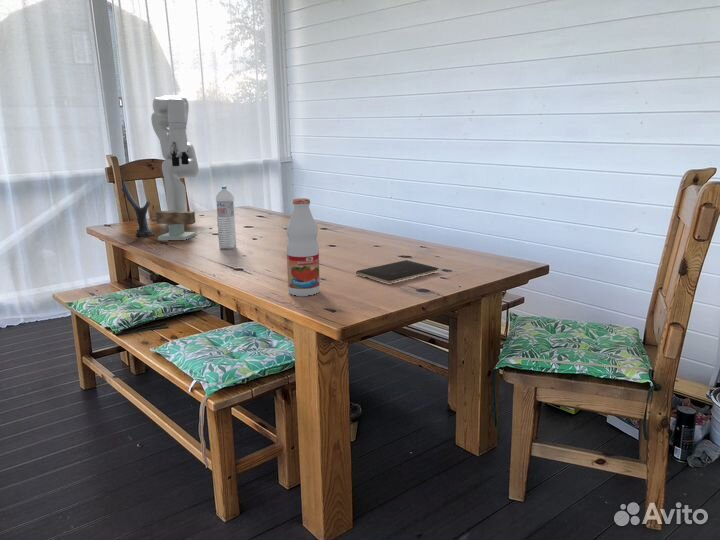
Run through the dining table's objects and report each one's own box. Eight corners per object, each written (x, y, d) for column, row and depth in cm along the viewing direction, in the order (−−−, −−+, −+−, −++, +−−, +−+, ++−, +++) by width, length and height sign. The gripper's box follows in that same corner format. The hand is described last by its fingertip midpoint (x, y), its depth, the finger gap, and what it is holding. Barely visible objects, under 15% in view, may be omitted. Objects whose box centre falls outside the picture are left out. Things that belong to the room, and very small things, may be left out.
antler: (151, 233, 266) (146, 178, 260) (156, 236, 260) (151, 180, 254) (125, 236, 260) (119, 180, 254) (129, 239, 254) (123, 181, 247)
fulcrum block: (170, 234, 263) (169, 220, 261) (195, 235, 261) (194, 221, 259) (157, 240, 251) (156, 225, 249) (184, 240, 249) (183, 225, 248)
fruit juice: (313, 286, 180) (311, 196, 173) (324, 294, 172) (322, 200, 165) (284, 290, 176) (280, 198, 169) (293, 298, 168) (290, 202, 161)
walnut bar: (156, 223, 254) (155, 212, 252) (161, 222, 257) (160, 210, 256) (191, 224, 251) (190, 212, 250) (195, 222, 255) (194, 211, 254)
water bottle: (215, 248, 235) (211, 186, 228) (230, 245, 239) (226, 184, 233) (225, 250, 230) (221, 187, 224) (239, 248, 235) (236, 186, 229)
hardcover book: (438, 274, 196) (438, 268, 195) (389, 287, 181) (389, 280, 181) (405, 265, 207) (405, 259, 207) (356, 276, 193) (355, 270, 192)
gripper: (178, 126, 271) (181, 163, 275) (160, 127, 254) (164, 166, 258) (193, 126, 270) (196, 163, 274) (177, 127, 253) (180, 166, 257)
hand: (180, 165), depth 266 cm, fingers open, 9 cm apart
